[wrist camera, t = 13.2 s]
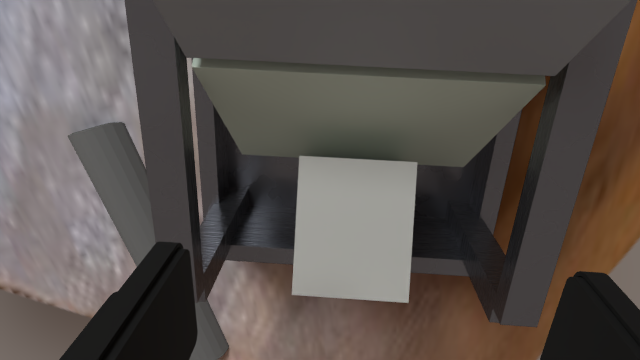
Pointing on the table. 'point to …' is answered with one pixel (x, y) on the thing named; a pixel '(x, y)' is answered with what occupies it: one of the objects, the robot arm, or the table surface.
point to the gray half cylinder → (135, 211)
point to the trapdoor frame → (431, 182)
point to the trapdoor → (378, 70)
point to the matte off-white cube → (354, 228)
